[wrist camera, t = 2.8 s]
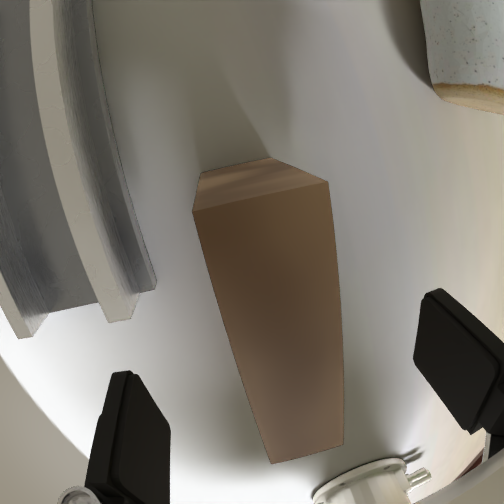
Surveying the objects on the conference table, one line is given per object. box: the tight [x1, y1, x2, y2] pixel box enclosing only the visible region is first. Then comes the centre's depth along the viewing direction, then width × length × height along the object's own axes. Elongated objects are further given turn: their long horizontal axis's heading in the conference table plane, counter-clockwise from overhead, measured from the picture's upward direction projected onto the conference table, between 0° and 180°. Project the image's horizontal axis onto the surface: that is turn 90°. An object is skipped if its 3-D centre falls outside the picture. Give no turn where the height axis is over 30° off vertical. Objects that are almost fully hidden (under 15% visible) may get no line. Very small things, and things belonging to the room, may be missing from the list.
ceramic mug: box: [420, 0, 504, 115], centre depth 10 cm, size 11×8×8 cm
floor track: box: [0, 0, 157, 339], centre depth 11 cm, size 9×20×4 cm, turn 12°
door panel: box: [192, 158, 344, 464], centre depth 14 cm, size 4×12×8 cm, turn 12°
